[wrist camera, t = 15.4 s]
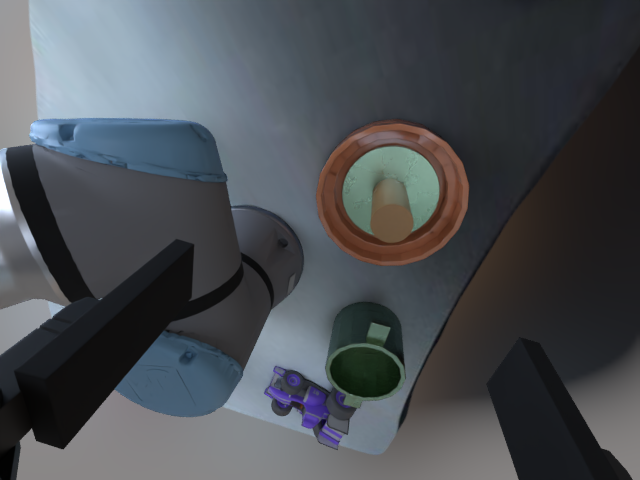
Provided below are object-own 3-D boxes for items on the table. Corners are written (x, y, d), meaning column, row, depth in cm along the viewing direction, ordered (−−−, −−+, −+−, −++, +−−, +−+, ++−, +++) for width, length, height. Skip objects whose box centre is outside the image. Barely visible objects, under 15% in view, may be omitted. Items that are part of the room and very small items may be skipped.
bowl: (312, 231, 44) (305, 247, 41) (338, 104, 37) (332, 108, 33) (431, 261, 44) (436, 280, 40) (482, 137, 36) (495, 144, 32)
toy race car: (277, 359, 56) (266, 392, 51) (359, 391, 57) (356, 427, 51) (263, 393, 61) (251, 426, 55) (339, 422, 61) (335, 458, 55)
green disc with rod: (333, 221, 43) (322, 258, 34) (355, 133, 37) (348, 151, 29) (419, 243, 42) (428, 286, 34) (453, 157, 37) (475, 182, 28)
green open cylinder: (324, 356, 54) (315, 401, 47) (345, 279, 47) (339, 318, 40) (385, 372, 54) (386, 420, 46) (416, 297, 46) (423, 340, 39)
